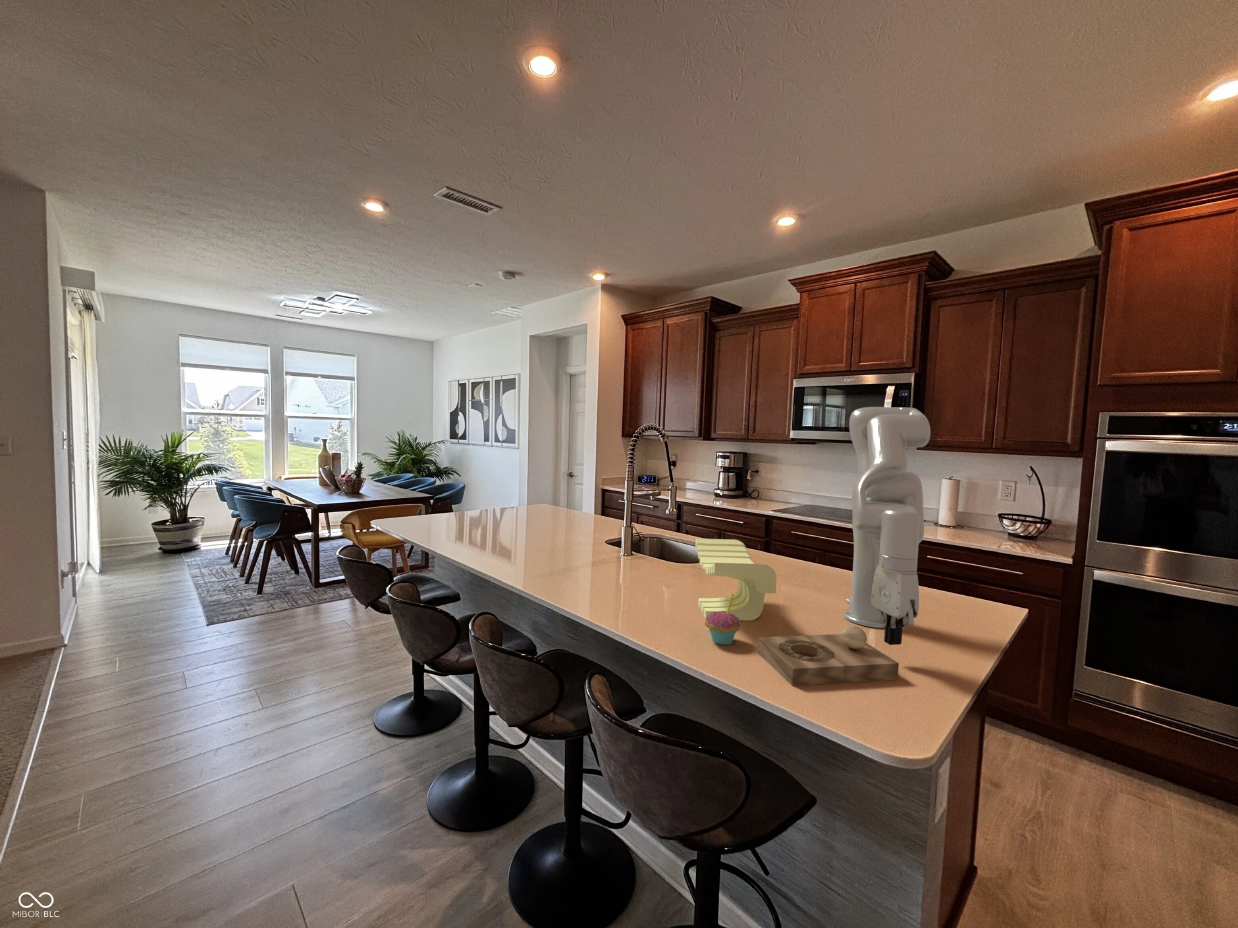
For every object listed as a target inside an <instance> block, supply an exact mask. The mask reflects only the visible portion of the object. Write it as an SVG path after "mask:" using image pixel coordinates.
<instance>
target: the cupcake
mask: <svg viewBox="0 0 1238 928" xmlns="http://www.w3.org/2000/svg"><path fill="white" fill-rule="evenodd" d="M732 595H734V593H733V592H732V593H731V595H730V599H729V604H728V609H727V612H726V611H720V612H713V613H711V614H709V615H708V616H707V617H706V618H705V621H704V626H705V627H706V628H708V629H709V633H710V636H711V640H712V642H713V643H716V644H718V645H724V646H726V645H730V644H732V643H733V640H734V638H735V635H736V633H737V632H739V631H740V629H741V627H742V625H741V622H742V620H740V619H739V618H737V617H736V616H735V615H733V614H732V613H730V608H731V603H732V598H733V596H732Z"/></svg>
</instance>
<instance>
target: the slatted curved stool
mask: <svg viewBox="0 0 1238 928" xmlns="http://www.w3.org/2000/svg"><path fill="white" fill-rule="evenodd" d="M695 549H696V553H697V555H698V556H697V558H698V560H699V564H700V566H701V567H702V569H703V571H705V573H706V575H707V576H714V577H715V576H716V577H728V578H732V579H736V580H737V581H738V590H737V591H736V592H735V593H733V595H732V594H731V595H732V596H733V598H732V603H731V608H730V613H732V614H733V615H735V616H736V617H737V618H739V619H740V621H754V620H756V619H758V618H759V617H760V616H761V614H762V612H763V610H764V603H765V602H764V601H765V596H766V595H765V594H776V592H777V574H776V572H775V570H774V568H773V567H771V566H770V565H769V564H766V563H755V562H753V560H752V556H750V552H749V551H748V548H747V547H746V545H745V544H744V543H743V542H742V541H740V540H738V539H727V538H726V539H724V538H720V539H719V538H695ZM731 595H730V596H731ZM730 596H725V597H724V596H723V597H714V598H712V597H710V598H707V597H706V598H704V597H702V598H701V597H699V598H698V602H697V604H698V607H699V608H700V610H701V612H702V614H703V616H704V618H705V619H706V617H707V616H708V615H709V614H711V613H713V612H720V611H726V612H727V609H728V604H729V599H730Z"/></svg>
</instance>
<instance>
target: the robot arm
mask: <svg viewBox="0 0 1238 928" xmlns="http://www.w3.org/2000/svg"><path fill="white" fill-rule="evenodd" d="M848 426H849V428H848V429H849V433H850V435H849V436H850V439H851V442H852V445H853V448H854V450H855V454H856V459H857V462H856V463H857V472H856V473H857V480H856V482H855V484H854V486H853V490H852V494H851V507H852V508H851V511H852V520H851V523H852V532H853V533H852V535H853V564H852V577H851V578H852V583H851V596H850V598H846V599H845V603H846V604H848V605H849V607H848V608H849V609H846V610H845V611H844V613H843V614H844V618H845V619H846V620H847V621H849V622H852V623H854V624H857V625H860V626H864V627H871V628H875V629H877V628H881V629H884V637H883V639H884V640H883V642H885V643H886V644H888V645H889V646H896V645H897V646H899V645H900V646H901V644H902V641H903V640H902V639H903V629H905V627H906V626H914V625H915V618H917V617H918V615H919V608H920V607H919V606H920V605H919V604H920V589H919V586H920V585H919V578H918V573H917V571H918V557H919V556H918V555H919V544H920V543H921V542H922V541H923V539H924V533H925V518H924V517H925V516H924V515H925V513H924V511H925V510H924V494H923V484H922V481H921V479H920V477H919V476H918V475H917V474H916V473H914V472H911V471H907V470H908V461H907V451H906V450H907V449H906V448H909V447H910V448H923V447H925V446H927V444H928V443H929V442H930V439H931V426H930V422H929V420H928V417H926V415H925V414H923V413H922V411H920V410H919V409H917V408H914V407H904V406H903V407H901V406H900V407H899V406H898V407H897V406H895V407H889V406H887V407H886V406H867V407H866V406H865V407H861V408H857V409H855V410H853V411H852V412H851V414H850V417H849V425H848Z"/></svg>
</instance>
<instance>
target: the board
mask: <svg viewBox="0 0 1238 928" xmlns="http://www.w3.org/2000/svg"><path fill="white" fill-rule="evenodd" d="M757 653H758V654H759V655H760V656H761V657H762V658H763V659H764V660H765V661H766V662H767V663H768V664H769V665H770V666H771V667H772V669H774V670H775V671H776V672H778V674H780V676H782V677H783V678H784V680H786V681H787V682H788V683H789V684H790V685H791V686H805V685H807V686H809V685H822V684H842V683H843V684H845V683H859V682H878V681H879V682H880V681H894V680H895V681H896V680H898V679H899V667H900V666H899V665H900V663H899V662H897V661H896V660H894V659H893V658H891V657H890V656H888V655H886V654H884V653H883V652H881V651H880V650H879V649H877V648H875V647H874V646H872V645H870V644H869V643H867V642H866V644H865V645H864V647H862V648H860V649H851V648H849V647H848V646H846V645H845V643H844V642H843V639H842V633H835V634H833V633H832V634H811V635H808V634H807V635H788V636H785V635H784V636H783V635H782V636H762V637H761V636H760V637H757Z"/></svg>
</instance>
